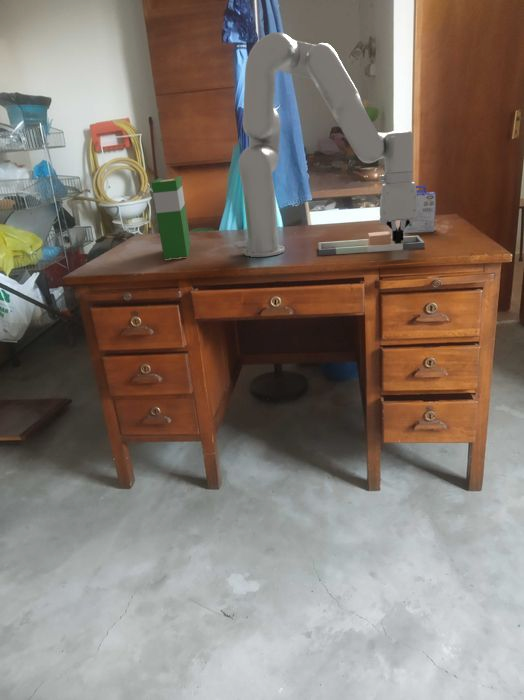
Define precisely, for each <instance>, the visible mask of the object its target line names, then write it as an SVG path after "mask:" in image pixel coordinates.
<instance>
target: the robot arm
mask: <svg viewBox="0 0 524 700" xmlns="http://www.w3.org/2000/svg"><path fill="white" fill-rule="evenodd" d="M245 63H246V64H245V70H244V71H245V72H244V90H243V92H244V93H243V113H242V128H243V131H244V133H245V134H246V136H247V137H249V138H248V139H249V141H248V147H246V148H245V149H243V150H242V152H241V154H240V156H239V159H238V172H239V177H240V183H241V186H242V195H243V204H244V213H245V214H244V215H245V223H246V234H247V239H246V240H244V241H235V242H234V248H235V249H245V250H244V251H243V252H244V253H243V254H244V255H245V256H246V257H249V256H250V258H265V257H271V256H272V257H273V256H276V255H280V254H282V253H284V252H285V247H284V246H283V245H280V242H279V241H280V239H279V228H278V227H279V226H278V216H277V204H276V203H277V202H276V191H275V185H274V178H273V172H275V170H276V169H277V167H278V164H279V158H280V157H279V155H280V153H279V152H280V138H281V120H280V119H281V118H280V115H279V113H278V111H277V110H276V109H275V93H276V92H275V91H276V85H275V84H276V82H275V81H276V79H275V77H276V74H277V71H279V72H281V73H284V74H285V73H286V74H289V75H293V76H294V75H295V76H298V77H301V78H307V79H311V80H312V81H313V83H314V84H315V85H314V86H315V87H316V88H317V90H318V91H319V93H320V95H321V97H322V98H323V100H324V102H325V104H326V105H327V107H328V109H329V111H330V113H331V114H332V116H333V118H334V120H335V121H336V123H338V126H339V128H340V130H341V131H342V133H343V134H344V137H345V138H346V140H347V142H348V143H349V145H350V147H351V148H352V150H353V152H354V153H355V155H356V157H357V158H358V159H359V160H360V161H361V162H362V163H365V164H371V163H376V162H377V161H378V160H380V159H384V173H383V174H382V175H379V178H378V179H379V181H382V182H384V183H383V184H382V186H381V192H380V201H379V220H378V224H379V225H383V226H387V227H388V228H390V229H391V233H392V234H391V237H392V241H394V243H395V244H401V241H403V237H404V229H405V228H406V227H407V226H408V225H409V224H410V223H413V222H416V221H417V192H416V190H417V189H416V186H417V185H416V182H414V181H413V168H414V167H413V162H414V159H413V158H414V157H413V155H414V154H413V153H414V152H413V151H414V134H413V132H412V131H411V130H395V131H390V132H378V131H377V129H376V127H375V125H374V124H373V122H372V120H371V118H370V117H369V115H368V113H367V111H366V108H365V106H364V105H363V102H362V99H361V96H360V93H359V91H358V88H356V86H355V83H354V82H353V80H352V79H351V77H350V75H349V74H348V72H347V70H346V69H345V66H344V65H343V63H342V61H341V60H340V58H339V55H338V53H337V52H336V50H335V49H334V48H333V47H332V45H330V44H329V43H324V42H321V43H318V44H312V43H308V42H305V41H300V40H296V39H293V38H291V37H290V36H289V35H287V34H286V33H284V32H279V31H278V32H270V33H268V34H266V35H264V36H263V37H261V38H260V39H259V40H258V41H256V42H255V44H254V45H253V46H252V48H251V49H250V51H249V53H248V55H247V59H246V62H245ZM396 221H399V226H398V227H397V223H396Z"/></svg>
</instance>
